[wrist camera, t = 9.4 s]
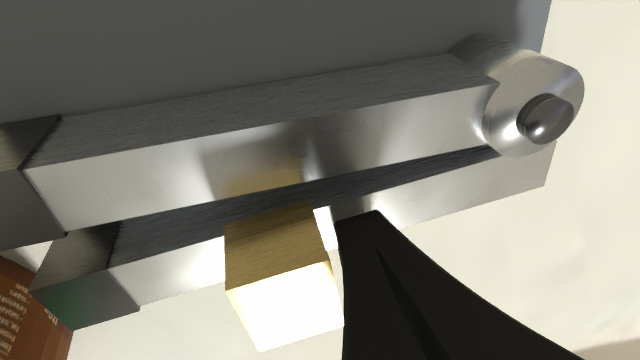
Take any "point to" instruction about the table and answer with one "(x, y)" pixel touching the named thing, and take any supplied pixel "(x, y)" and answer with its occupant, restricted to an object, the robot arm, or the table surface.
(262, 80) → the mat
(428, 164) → the tongs fixed
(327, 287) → the collar
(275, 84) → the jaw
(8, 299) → the food container
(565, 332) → the table surface
